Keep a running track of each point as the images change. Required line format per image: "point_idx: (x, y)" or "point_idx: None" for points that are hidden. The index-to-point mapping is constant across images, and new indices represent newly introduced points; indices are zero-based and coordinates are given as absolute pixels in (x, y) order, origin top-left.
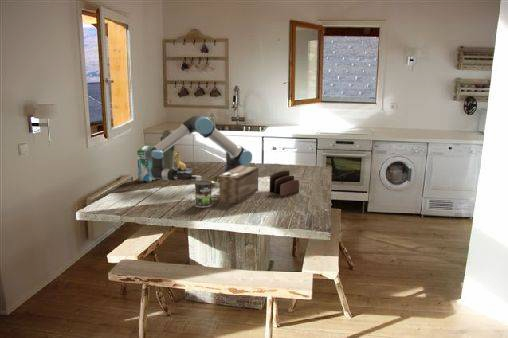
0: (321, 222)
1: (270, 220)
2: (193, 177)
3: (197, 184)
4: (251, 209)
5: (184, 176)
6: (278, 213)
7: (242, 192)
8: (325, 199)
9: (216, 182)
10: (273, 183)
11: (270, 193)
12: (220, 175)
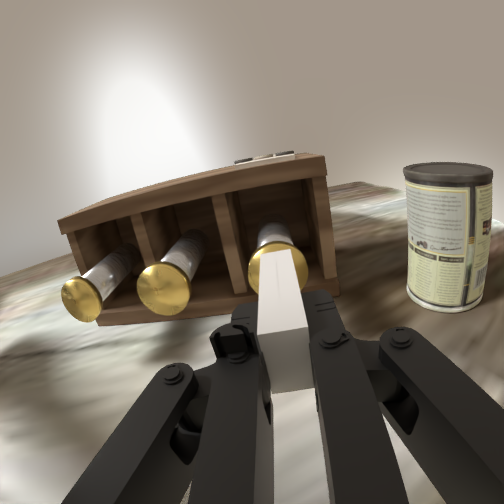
0: (329, 188)
1: (379, 198)
2: (335, 306)
3: (484, 167)
4: (349, 223)
5: (469, 380)
6: (333, 205)
7: None
8: None
9: (274, 237)
10: None
11: None
12: (307, 157)
